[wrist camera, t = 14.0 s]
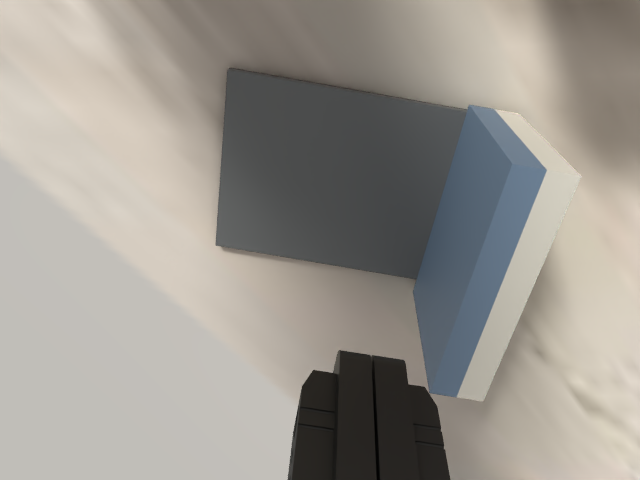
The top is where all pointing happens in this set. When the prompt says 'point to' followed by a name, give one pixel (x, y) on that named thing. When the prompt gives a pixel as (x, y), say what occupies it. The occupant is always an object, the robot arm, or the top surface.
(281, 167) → the mat
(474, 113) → the card deck
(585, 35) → the top surface
